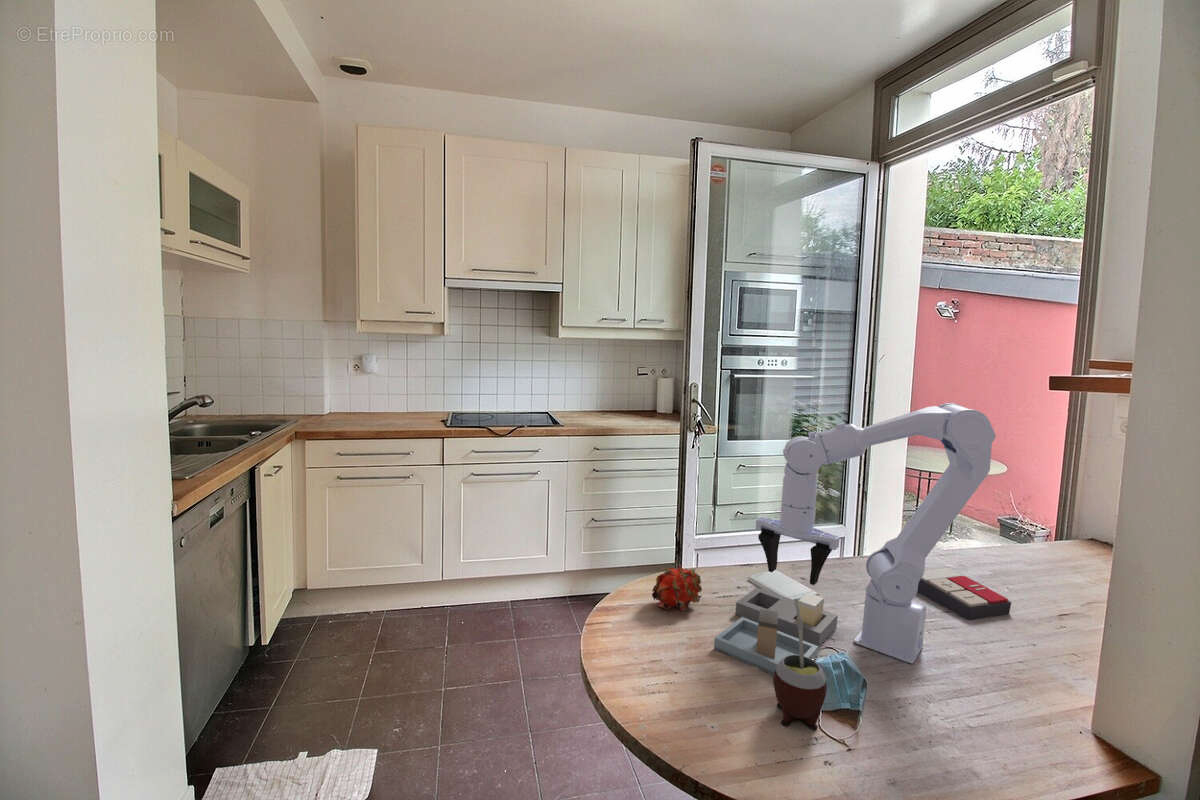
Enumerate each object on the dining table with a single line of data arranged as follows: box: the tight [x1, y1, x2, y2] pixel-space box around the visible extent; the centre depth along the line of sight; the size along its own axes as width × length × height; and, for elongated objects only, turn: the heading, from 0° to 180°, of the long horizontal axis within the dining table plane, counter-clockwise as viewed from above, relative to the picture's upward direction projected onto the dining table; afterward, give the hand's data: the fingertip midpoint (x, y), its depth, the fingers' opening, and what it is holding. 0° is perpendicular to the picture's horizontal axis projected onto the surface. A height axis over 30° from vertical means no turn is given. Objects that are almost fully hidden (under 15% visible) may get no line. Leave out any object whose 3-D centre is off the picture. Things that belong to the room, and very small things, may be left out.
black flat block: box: [917, 567, 1012, 621], centre depth 120 cm, size 11×4×15 cm
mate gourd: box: [772, 599, 828, 732], centre depth 81 cm, size 8×8×15 cm
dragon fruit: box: [651, 564, 703, 612], centre depth 112 cm, size 8×8×12 cm
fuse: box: [797, 593, 825, 627], centre depth 105 cm, size 3×4×6 cm, turn 140°
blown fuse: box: [756, 609, 778, 659], centre depth 97 cm, size 3×4×6 cm, turn 162°
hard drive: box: [747, 569, 820, 601], centre depth 122 cm, size 2×8×12 cm
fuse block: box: [735, 586, 838, 648], centre depth 108 cm, size 16×9×2 cm, turn 49°
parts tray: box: [713, 617, 819, 676], centre depth 97 cm, size 14×10×2 cm
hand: (792, 576), depth 104 cm, fingers open, 7 cm apart
